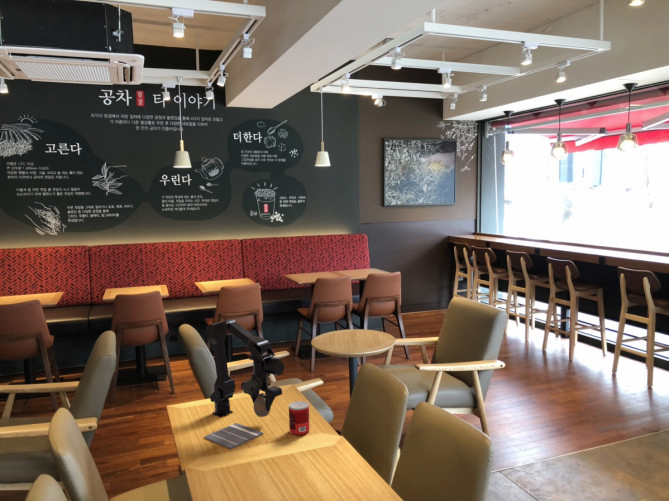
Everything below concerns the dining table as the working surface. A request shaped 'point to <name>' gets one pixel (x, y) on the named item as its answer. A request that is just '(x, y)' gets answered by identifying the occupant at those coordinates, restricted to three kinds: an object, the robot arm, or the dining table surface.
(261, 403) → the vase
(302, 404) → the canned food
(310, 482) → the dining table surface
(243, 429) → the mat
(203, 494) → the dining table surface
